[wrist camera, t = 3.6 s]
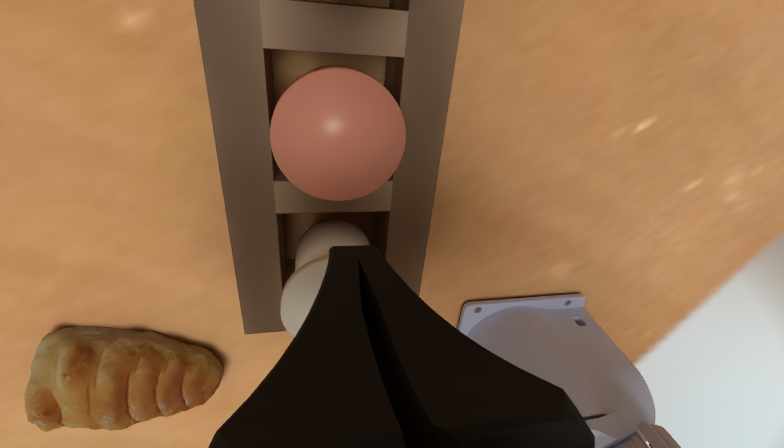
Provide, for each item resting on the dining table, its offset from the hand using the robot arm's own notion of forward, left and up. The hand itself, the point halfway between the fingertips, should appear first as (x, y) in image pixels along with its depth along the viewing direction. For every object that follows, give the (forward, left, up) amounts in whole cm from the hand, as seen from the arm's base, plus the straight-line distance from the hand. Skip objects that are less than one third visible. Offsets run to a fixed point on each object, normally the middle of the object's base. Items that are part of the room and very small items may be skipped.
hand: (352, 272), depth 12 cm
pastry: (+12, +13, -10) cm, 20 cm away
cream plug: (0, +4, -6) cm, 7 cm away
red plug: (0, -3, -8) cm, 8 cm away
